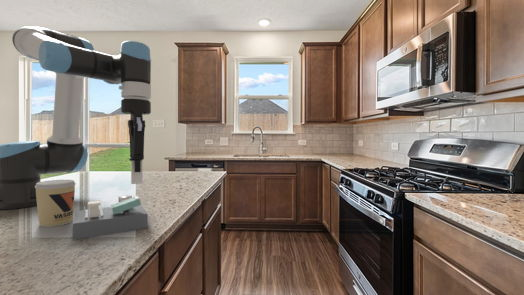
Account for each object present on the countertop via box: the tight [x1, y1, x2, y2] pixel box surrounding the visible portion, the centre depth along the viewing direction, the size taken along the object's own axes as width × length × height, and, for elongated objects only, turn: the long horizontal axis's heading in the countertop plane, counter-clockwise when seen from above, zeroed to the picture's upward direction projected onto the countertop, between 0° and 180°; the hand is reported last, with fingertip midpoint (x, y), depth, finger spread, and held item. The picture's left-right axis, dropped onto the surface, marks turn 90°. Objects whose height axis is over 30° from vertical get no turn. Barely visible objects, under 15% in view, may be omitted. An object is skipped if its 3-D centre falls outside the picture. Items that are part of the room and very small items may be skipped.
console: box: [72, 204, 149, 241], centre depth 75 cm, size 13×17×5 cm
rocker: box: [110, 195, 142, 214], centre depth 74 cm, size 4×7×2 cm, turn 123°
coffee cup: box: [35, 179, 76, 228], centre depth 78 cm, size 9×9×12 cm
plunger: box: [118, 195, 133, 203], centre depth 80 cm, size 4×4×3 cm
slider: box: [87, 200, 102, 218], centre depth 70 cm, size 3×3×4 cm
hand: (136, 183), depth 75 cm, fingers closed
